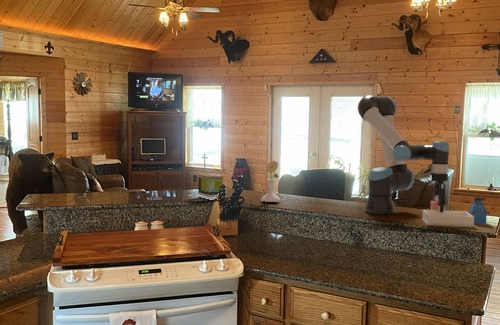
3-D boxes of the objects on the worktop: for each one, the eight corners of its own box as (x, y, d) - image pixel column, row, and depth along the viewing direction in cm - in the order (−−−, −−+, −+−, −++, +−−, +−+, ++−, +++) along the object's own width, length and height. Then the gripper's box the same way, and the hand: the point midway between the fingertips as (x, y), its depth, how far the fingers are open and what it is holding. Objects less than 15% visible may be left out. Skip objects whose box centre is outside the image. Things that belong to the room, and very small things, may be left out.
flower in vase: (257, 201, 279) (257, 159, 277) (273, 200, 285) (274, 159, 283) (268, 205, 268) (269, 161, 266) (285, 203, 273) (286, 160, 271)
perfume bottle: (486, 224, 222) (487, 198, 221) (471, 223, 223) (473, 198, 222) (482, 221, 228) (483, 196, 227) (468, 220, 229) (469, 196, 228)
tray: (422, 219, 230) (422, 209, 230) (466, 221, 226) (466, 211, 226) (427, 225, 217) (427, 214, 217) (473, 227, 214) (474, 216, 213)
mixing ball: (433, 201, 235) (434, 193, 234) (441, 201, 235) (442, 194, 234) (434, 203, 231) (435, 195, 230) (443, 204, 231) (444, 196, 230)
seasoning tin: (430, 217, 237) (430, 200, 236) (442, 217, 236) (443, 201, 235) (432, 219, 231) (433, 202, 231) (445, 220, 230) (446, 203, 229)
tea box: (223, 199, 285) (223, 175, 284) (208, 201, 280) (208, 176, 279) (212, 196, 298) (212, 173, 297) (197, 197, 293) (197, 173, 292)
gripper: (453, 174, 219) (452, 221, 220) (442, 171, 242) (441, 213, 244) (436, 174, 220) (435, 220, 222) (427, 171, 244) (426, 212, 245)
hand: (438, 216), depth 233 cm, fingers open, 11 cm apart
